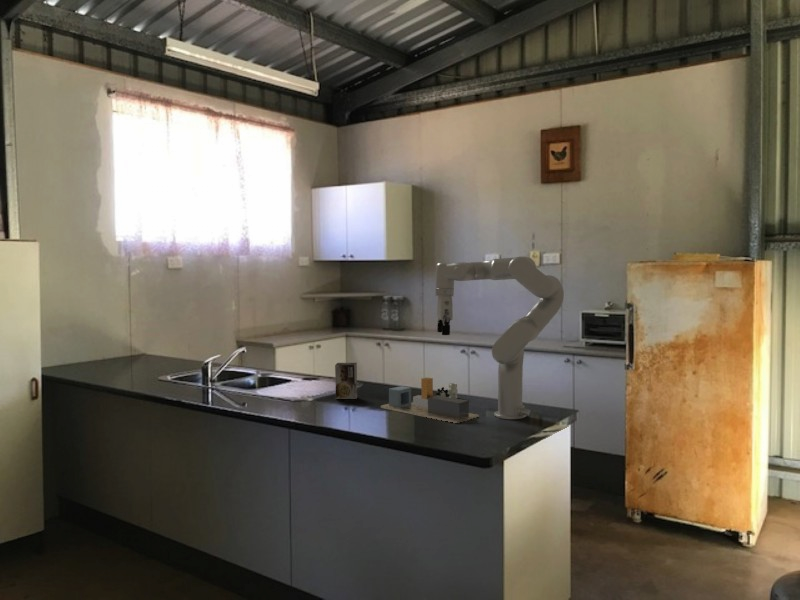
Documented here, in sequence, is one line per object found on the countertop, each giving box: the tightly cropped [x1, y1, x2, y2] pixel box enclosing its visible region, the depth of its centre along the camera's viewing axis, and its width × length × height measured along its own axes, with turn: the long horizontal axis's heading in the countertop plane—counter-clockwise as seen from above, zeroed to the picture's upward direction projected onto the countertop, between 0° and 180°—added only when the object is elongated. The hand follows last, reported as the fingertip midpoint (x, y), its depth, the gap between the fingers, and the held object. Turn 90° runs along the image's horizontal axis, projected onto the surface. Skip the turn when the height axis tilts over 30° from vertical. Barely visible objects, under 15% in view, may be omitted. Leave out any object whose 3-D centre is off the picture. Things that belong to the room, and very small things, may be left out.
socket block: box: [388, 385, 412, 407], centre depth 273 cm, size 6×8×7 cm
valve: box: [435, 382, 458, 399], centre depth 287 cm, size 7×7×12 cm
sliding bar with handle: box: [412, 377, 434, 409], centre depth 259 cm, size 23×4×12 cm, turn 47°
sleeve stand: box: [380, 395, 480, 424], centre depth 262 cm, size 41×14×7 cm, turn 47°
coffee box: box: [334, 362, 358, 400], centre depth 290 cm, size 9×6×16 cm
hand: (443, 333), depth 266 cm, fingers open, 9 cm apart
